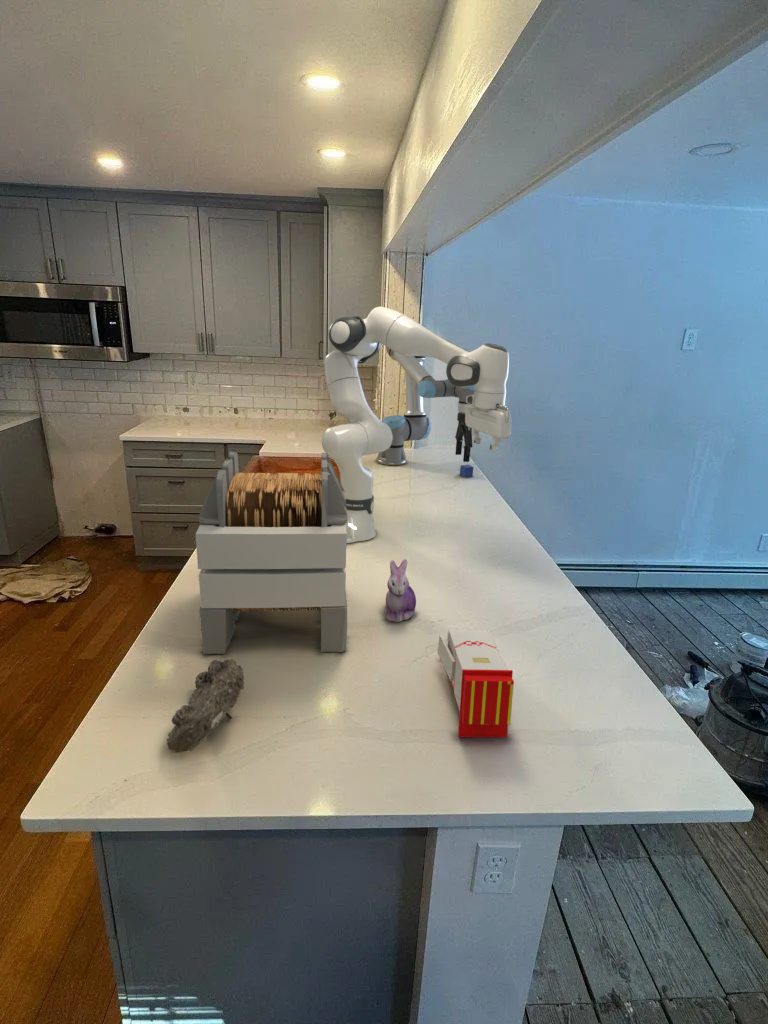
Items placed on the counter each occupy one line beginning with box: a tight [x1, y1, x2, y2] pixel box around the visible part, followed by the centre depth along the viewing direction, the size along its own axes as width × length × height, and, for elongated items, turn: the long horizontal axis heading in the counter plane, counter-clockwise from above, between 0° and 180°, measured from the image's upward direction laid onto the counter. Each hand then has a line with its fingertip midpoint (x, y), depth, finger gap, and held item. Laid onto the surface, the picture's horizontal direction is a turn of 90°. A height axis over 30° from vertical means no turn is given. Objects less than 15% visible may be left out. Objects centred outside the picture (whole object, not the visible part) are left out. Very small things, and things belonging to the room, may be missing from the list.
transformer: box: [195, 450, 348, 656], centre depth 137 cm, size 34×33×41 cm
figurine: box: [384, 558, 417, 623], centre depth 145 cm, size 9×10×15 cm
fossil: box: [166, 658, 245, 754], centre depth 106 cm, size 22×10×15 cm
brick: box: [459, 464, 474, 478], centre depth 273 cm, size 4×5×5 cm
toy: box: [437, 628, 515, 738], centre depth 117 cm, size 12×13×30 cm
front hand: (484, 447), depth 172 cm, fingers open, 8 cm apart
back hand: (462, 458), depth 265 cm, fingers open, 13 cm apart
